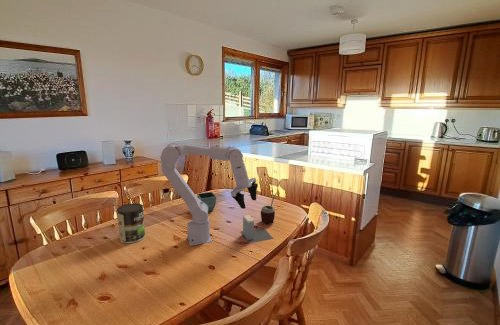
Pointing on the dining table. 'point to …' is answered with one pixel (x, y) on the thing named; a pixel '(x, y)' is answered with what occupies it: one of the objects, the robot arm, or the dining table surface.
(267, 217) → the mate gourd
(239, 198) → the robot arm
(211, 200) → the flower pot
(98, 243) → the dining table surface
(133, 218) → the coffee can
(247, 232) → the slab
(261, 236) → the mat
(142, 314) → the dining table surface
